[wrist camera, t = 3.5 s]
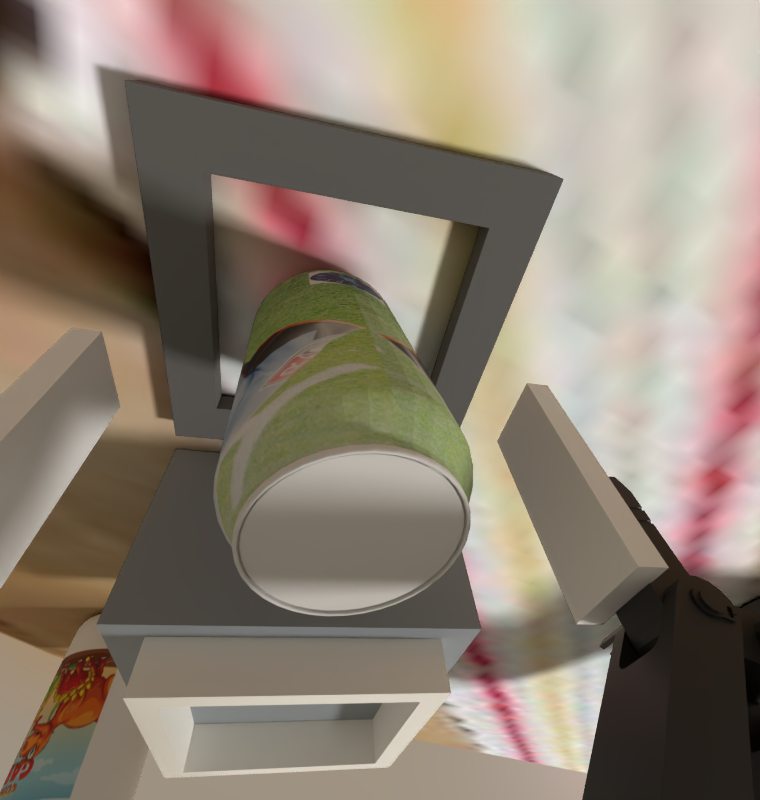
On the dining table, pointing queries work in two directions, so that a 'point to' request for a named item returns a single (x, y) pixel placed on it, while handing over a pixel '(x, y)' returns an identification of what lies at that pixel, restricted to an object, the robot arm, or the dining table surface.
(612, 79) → the dining table surface
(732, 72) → the dining table surface
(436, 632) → the tray
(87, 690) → the milk bottle
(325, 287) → the beverage can
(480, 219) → the gray square frame
